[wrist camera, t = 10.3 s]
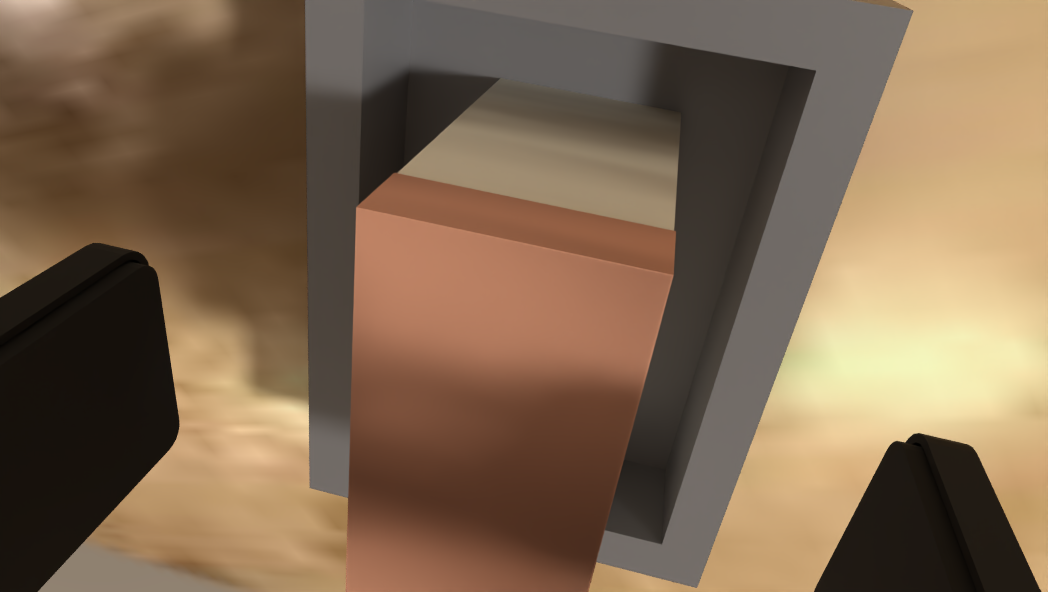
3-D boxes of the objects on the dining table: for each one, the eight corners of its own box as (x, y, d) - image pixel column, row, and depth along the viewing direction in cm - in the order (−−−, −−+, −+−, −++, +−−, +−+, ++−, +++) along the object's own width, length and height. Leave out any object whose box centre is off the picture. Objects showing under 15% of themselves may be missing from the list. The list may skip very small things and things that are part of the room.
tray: (377, -94, 14) (304, -92, 11) (868, -12, 13) (913, 11, 10) (360, 410, 20) (309, 487, 17) (696, 493, 19) (696, 587, 16)
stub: (500, 76, 14) (355, 206, 8) (682, 111, 14) (674, 275, 8) (464, 372, 18) (345, 617, 12) (609, 407, 17) (564, 679, 11)
